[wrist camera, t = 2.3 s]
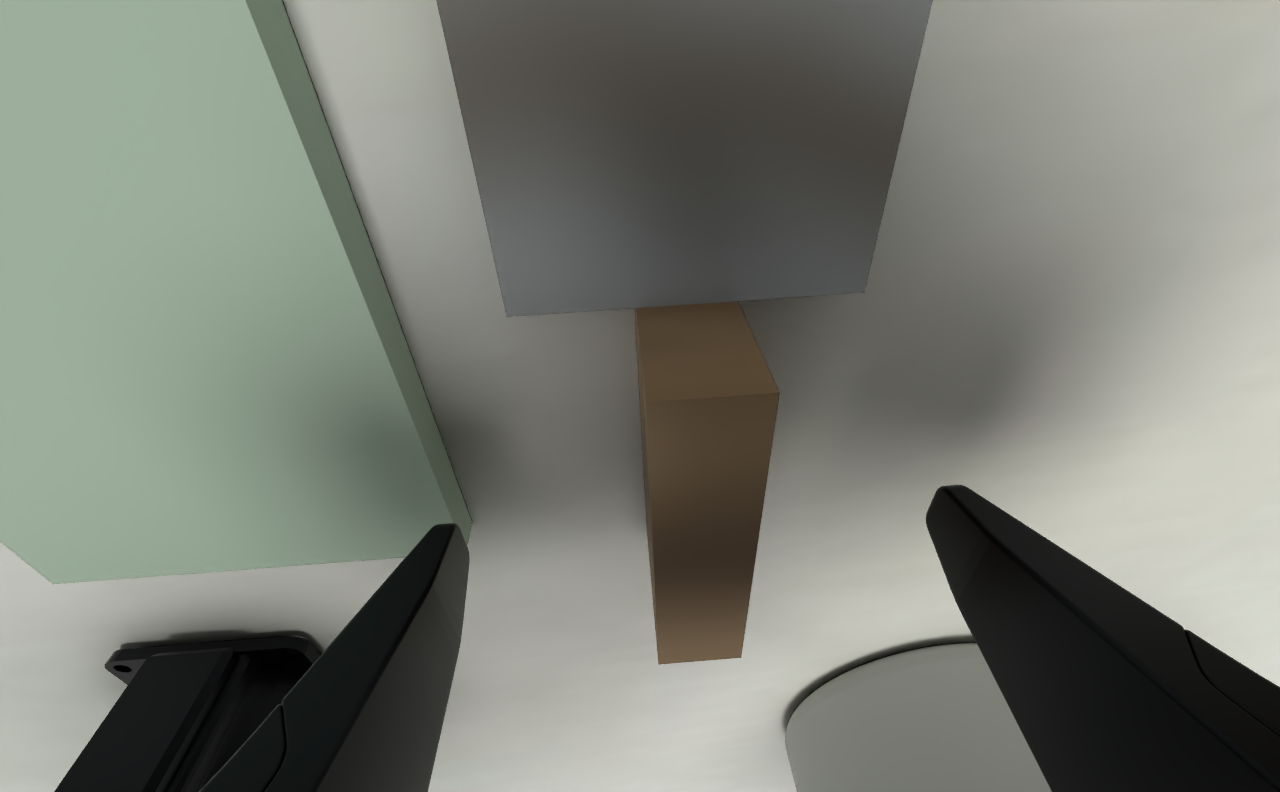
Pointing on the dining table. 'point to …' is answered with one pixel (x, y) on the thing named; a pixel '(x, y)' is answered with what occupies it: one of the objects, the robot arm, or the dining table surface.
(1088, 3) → the dining table surface
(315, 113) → the mat
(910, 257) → the dining table surface
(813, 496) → the dining table surface
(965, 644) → the cylinder vase
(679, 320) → the spatula
